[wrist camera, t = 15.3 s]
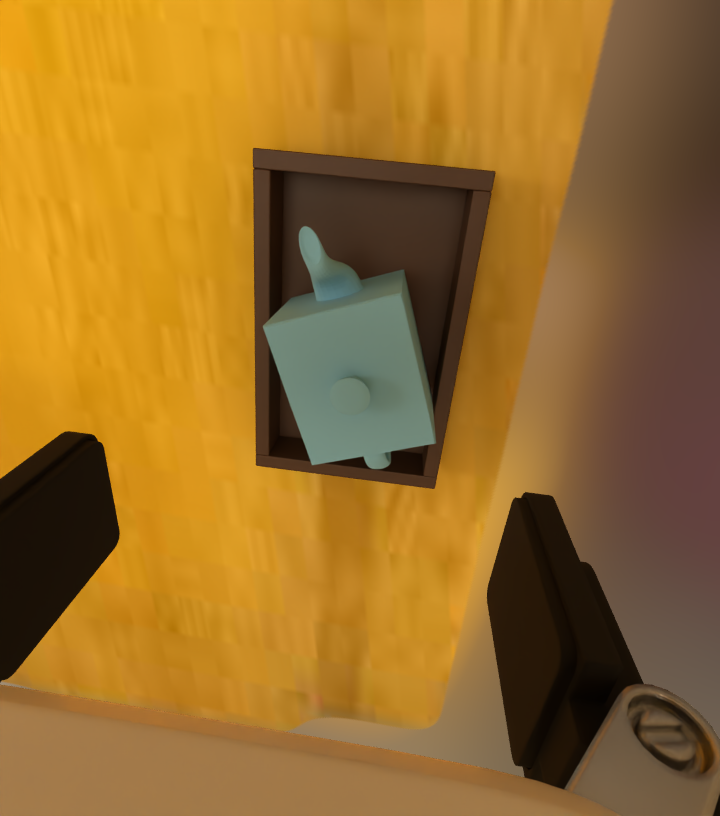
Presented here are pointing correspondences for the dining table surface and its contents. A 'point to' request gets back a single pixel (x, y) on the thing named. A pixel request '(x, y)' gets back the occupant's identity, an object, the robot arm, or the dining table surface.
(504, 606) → the robot arm
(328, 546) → the dining table surface
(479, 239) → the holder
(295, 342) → the teapot
